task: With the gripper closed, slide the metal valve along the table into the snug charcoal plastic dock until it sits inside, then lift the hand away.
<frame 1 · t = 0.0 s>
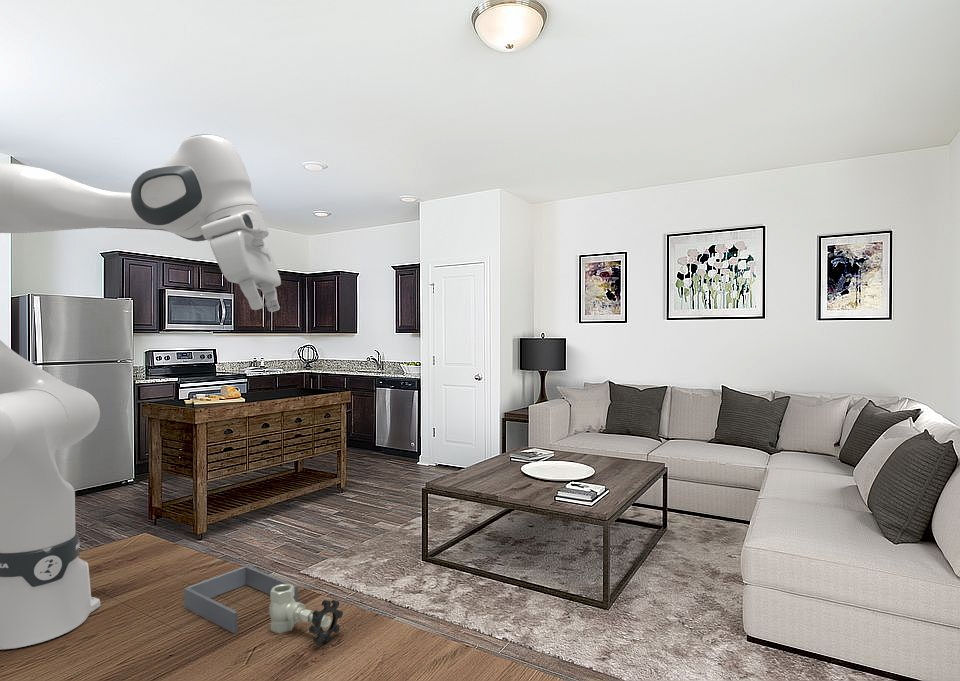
hand: (266, 310, 97), 52 cm above the table, tool tilted 20°, fingers open, 8 cm apart
valve dock: (242, 606, 102), on the table
valve: (300, 635, 93), on the table
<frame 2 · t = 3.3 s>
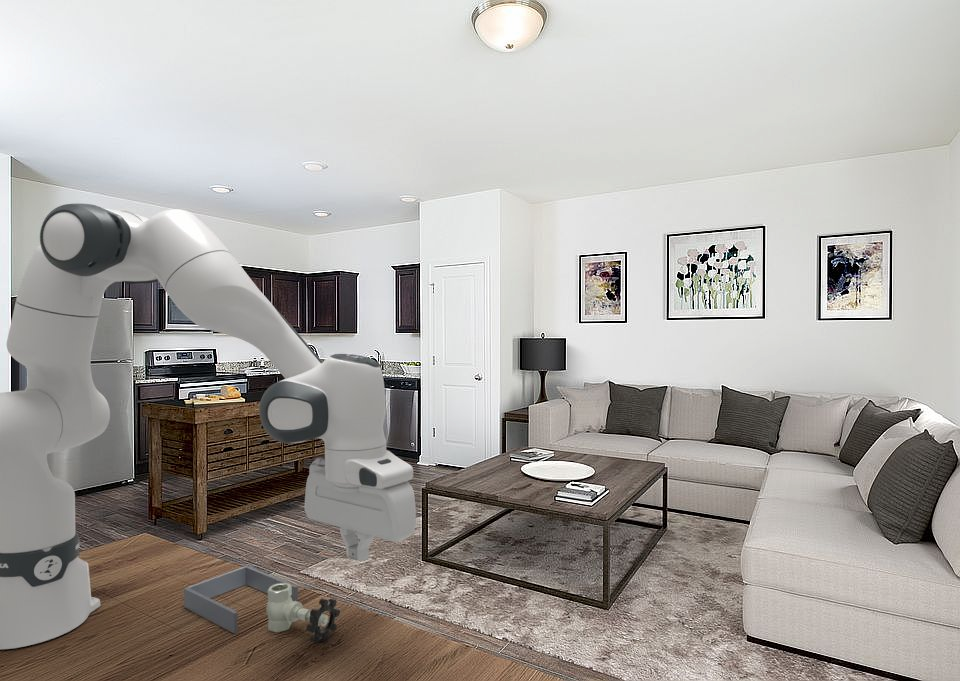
hand: (357, 558, 85), 15 cm above the table, tool pointing down, fingers closed
nothing on the table moved.
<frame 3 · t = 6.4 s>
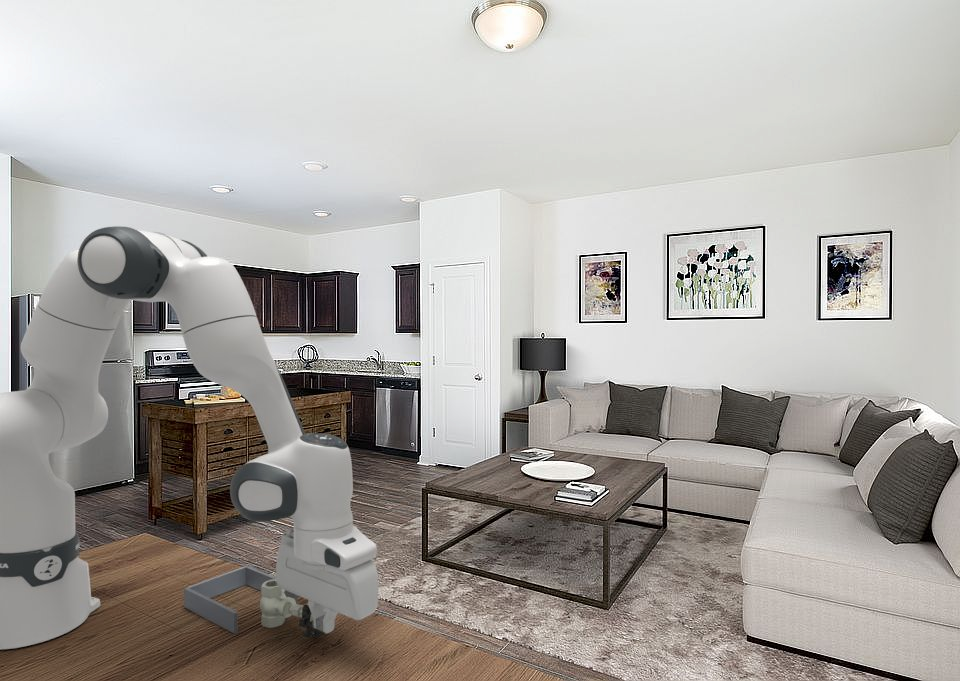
hand: (324, 629, 90), 2 cm above the table, tool pointing down, fingers closed
valve: (290, 629, 95), on the table, touching gripper
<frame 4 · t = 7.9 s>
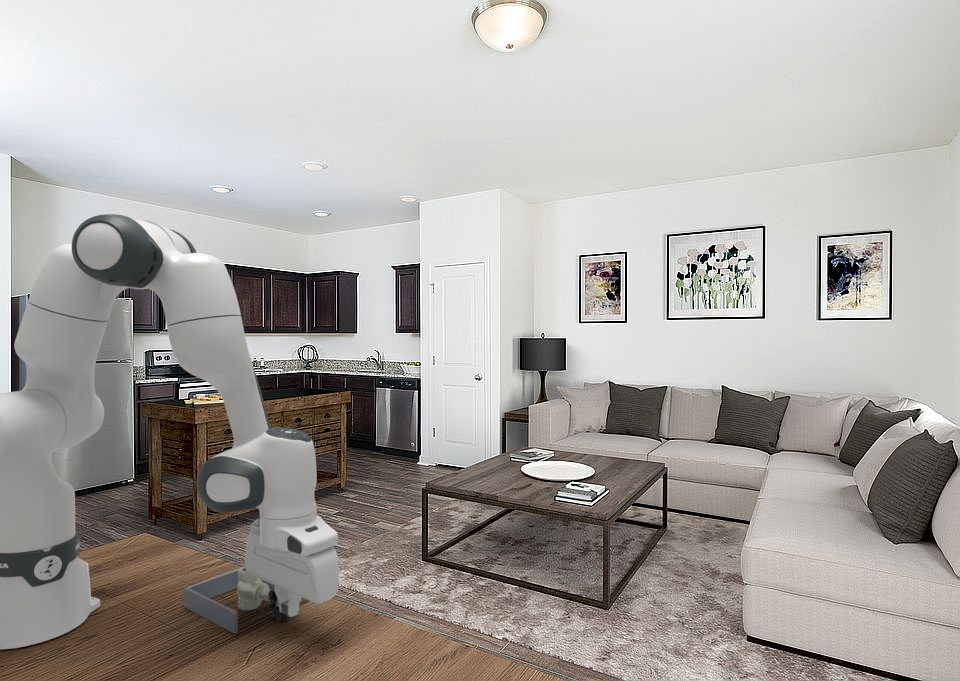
hand: (289, 613, 95), 3 cm above the table, tool pointing down, fingers closed
valve: (263, 613, 100), on the table, touching gripper
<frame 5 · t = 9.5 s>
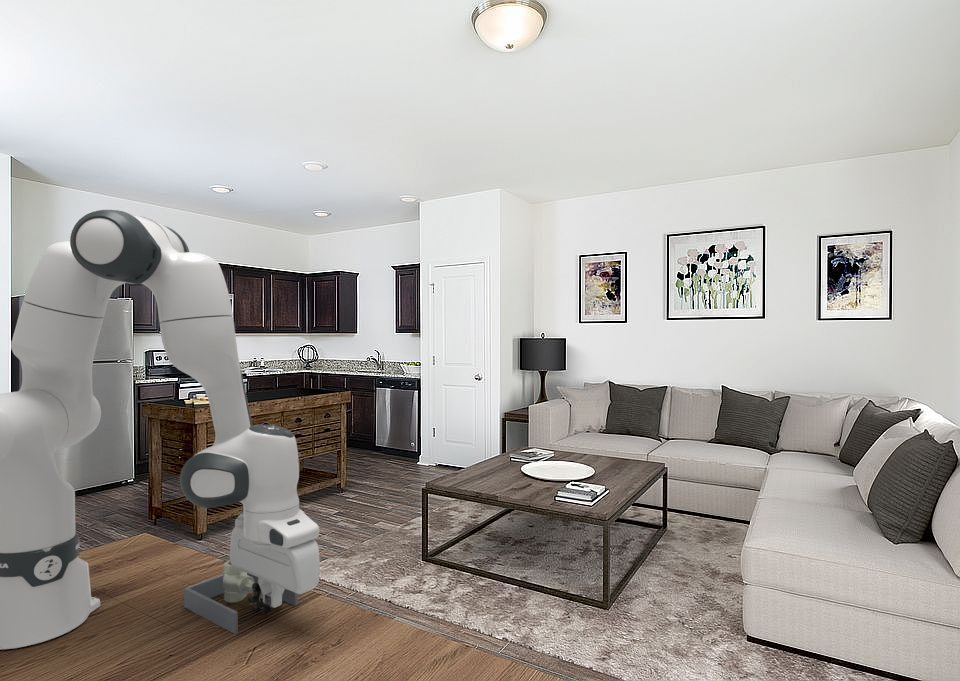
hand: (272, 604, 98), 3 cm above the table, tool pointing down, fingers closed
valve: (248, 605, 103), on the table, touching gripper
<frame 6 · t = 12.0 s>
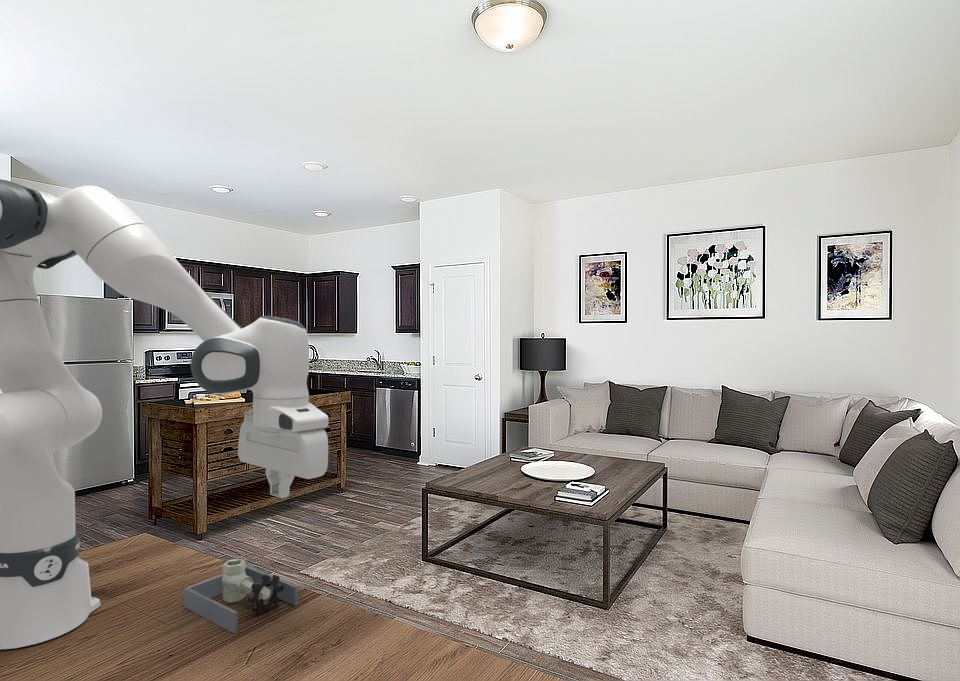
hand: (279, 496, 97), 21 cm above the table, tool pointing down, fingers closed
valve: (247, 605, 104), on the table
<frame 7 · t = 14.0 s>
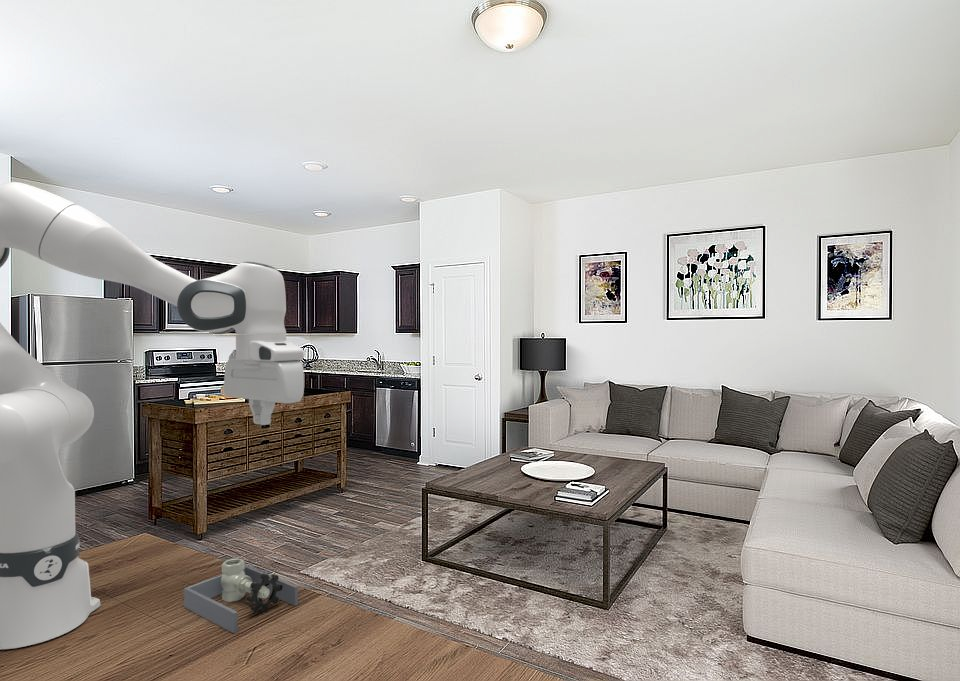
hand: (262, 424, 109), 31 cm above the table, tool pointing down, fingers closed
nothing on the table moved.
at the end: valve inside the target area on the valve dock (1.3 cm from its centre), point 0.0 cm above the valve dock's base; valve moved 16.7 cm from its start; valve tilted 0° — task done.
